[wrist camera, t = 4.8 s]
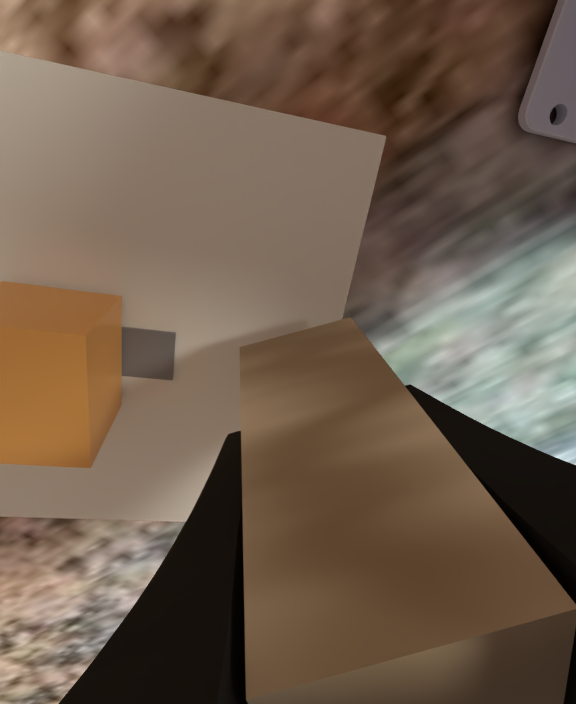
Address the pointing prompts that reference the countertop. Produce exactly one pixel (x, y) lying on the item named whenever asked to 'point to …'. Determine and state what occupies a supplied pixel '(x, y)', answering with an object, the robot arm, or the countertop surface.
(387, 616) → the tall stone pillar
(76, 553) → the countertop surface
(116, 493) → the switch panel
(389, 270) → the countertop surface
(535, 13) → the countertop surface
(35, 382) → the block
